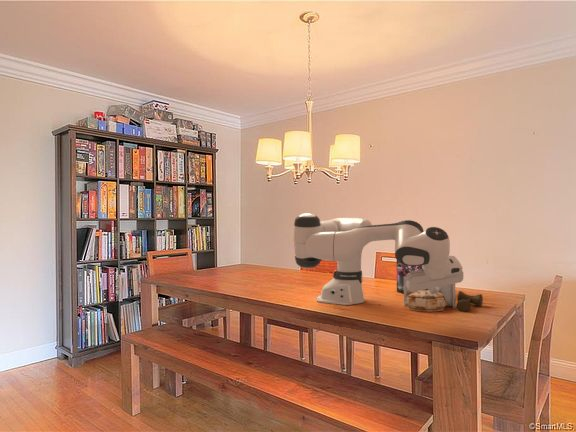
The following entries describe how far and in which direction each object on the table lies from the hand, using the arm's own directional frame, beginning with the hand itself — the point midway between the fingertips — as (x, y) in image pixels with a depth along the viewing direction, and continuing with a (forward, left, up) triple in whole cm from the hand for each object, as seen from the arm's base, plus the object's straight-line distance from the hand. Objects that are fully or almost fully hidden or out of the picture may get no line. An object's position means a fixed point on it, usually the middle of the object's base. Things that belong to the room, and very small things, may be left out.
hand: (433, 292), depth 141 cm
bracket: (0, +24, -11) cm, 26 cm away
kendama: (+16, +25, -11) cm, 32 cm away
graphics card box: (-6, +45, -11) cm, 47 cm away
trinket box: (-2, +18, -11) cm, 21 cm away
